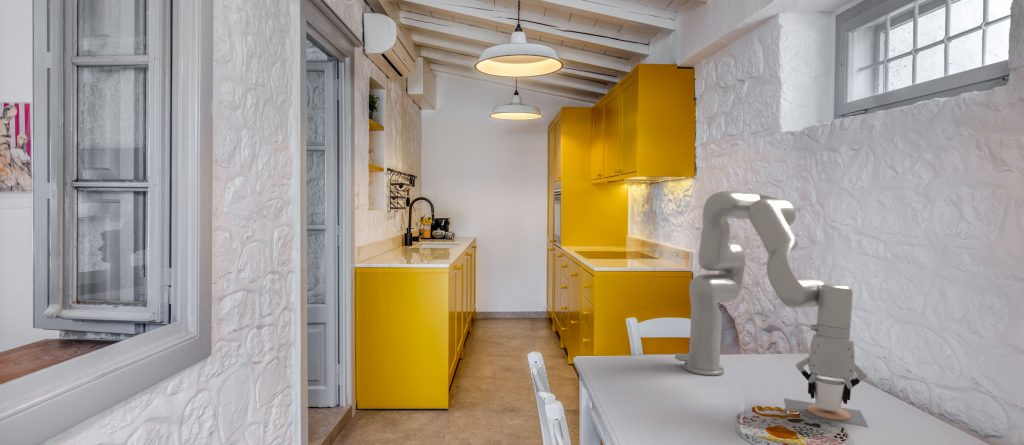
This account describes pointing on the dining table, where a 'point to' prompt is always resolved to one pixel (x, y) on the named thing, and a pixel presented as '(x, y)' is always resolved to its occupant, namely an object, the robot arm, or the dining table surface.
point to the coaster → (828, 413)
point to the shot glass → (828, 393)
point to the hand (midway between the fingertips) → (828, 398)
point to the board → (802, 407)
